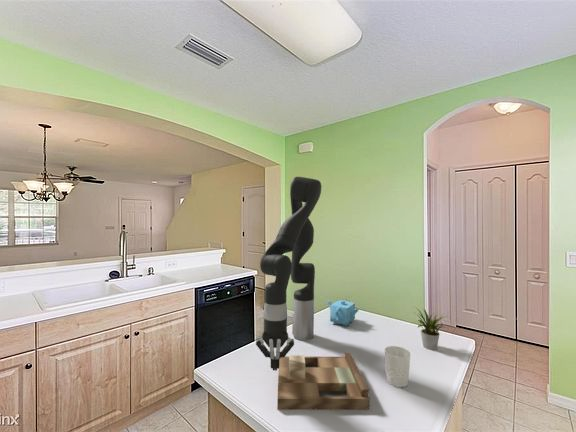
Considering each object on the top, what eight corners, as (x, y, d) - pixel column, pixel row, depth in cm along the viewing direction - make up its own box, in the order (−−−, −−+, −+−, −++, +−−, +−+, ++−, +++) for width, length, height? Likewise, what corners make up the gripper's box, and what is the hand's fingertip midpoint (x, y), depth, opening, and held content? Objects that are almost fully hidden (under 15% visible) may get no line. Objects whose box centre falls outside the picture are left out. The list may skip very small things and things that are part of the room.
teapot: (353, 331, 134) (353, 307, 134) (319, 323, 144) (319, 301, 144) (363, 321, 147) (363, 299, 147) (332, 314, 157) (332, 294, 157)
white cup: (408, 377, 96) (409, 348, 96) (411, 390, 88) (411, 359, 88) (384, 373, 98) (384, 344, 98) (384, 385, 91) (384, 354, 91)
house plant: (401, 344, 121) (401, 306, 121) (418, 336, 129) (418, 300, 129) (435, 357, 109) (435, 315, 109) (451, 348, 117) (452, 309, 117)
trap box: (277, 409, 79) (277, 391, 79) (279, 364, 103) (279, 350, 103) (369, 409, 79) (369, 391, 79) (349, 364, 103) (349, 351, 103)
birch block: (289, 379, 89) (289, 363, 89) (289, 370, 94) (289, 355, 94) (305, 379, 89) (305, 363, 89) (304, 370, 94) (304, 355, 94)
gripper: (295, 312, 95) (294, 363, 95) (256, 311, 95) (255, 363, 95) (296, 320, 87) (295, 375, 87) (253, 319, 87) (253, 375, 87)
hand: (274, 369), depth 91 cm, fingers closed
